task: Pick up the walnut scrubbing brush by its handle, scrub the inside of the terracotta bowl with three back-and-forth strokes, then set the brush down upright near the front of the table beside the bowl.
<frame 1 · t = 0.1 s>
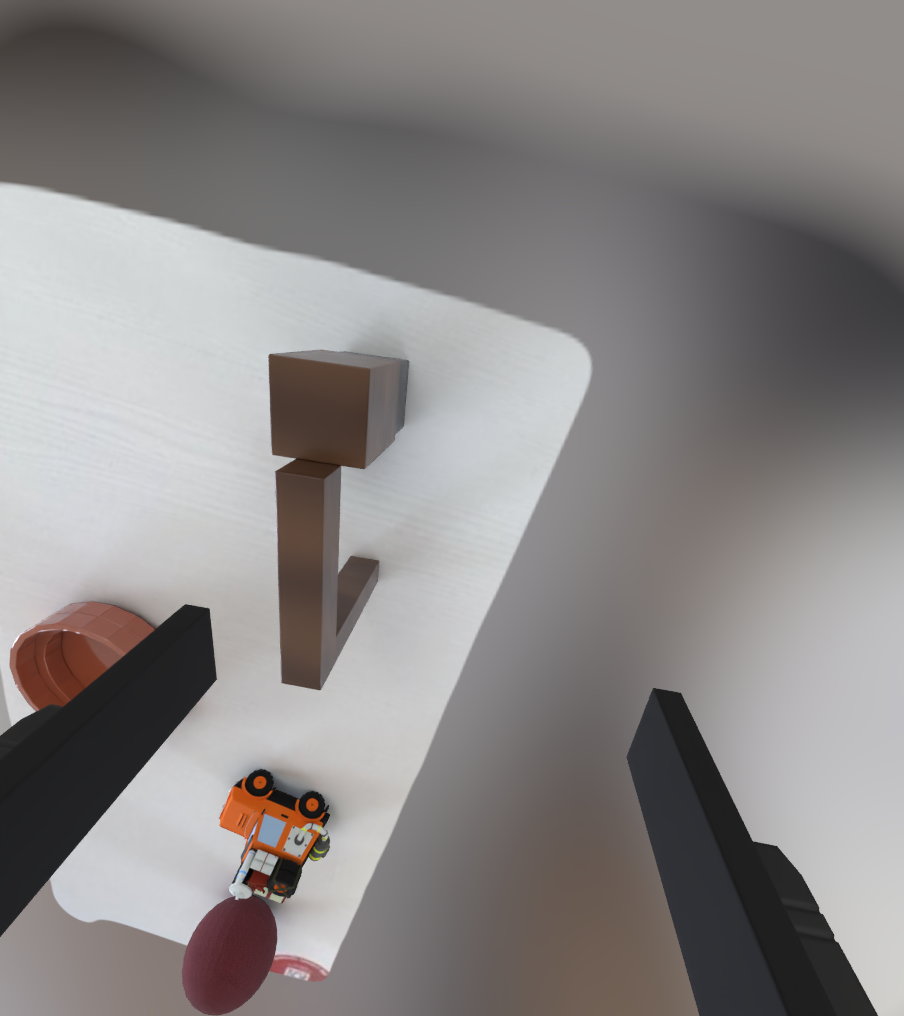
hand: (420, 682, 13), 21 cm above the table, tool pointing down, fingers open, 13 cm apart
brush: (374, 390, 31), on the table
bowl: (120, 659, 44), on the table
toy car: (289, 797, 49), on the table
decorative ball: (254, 898, 57), on the table
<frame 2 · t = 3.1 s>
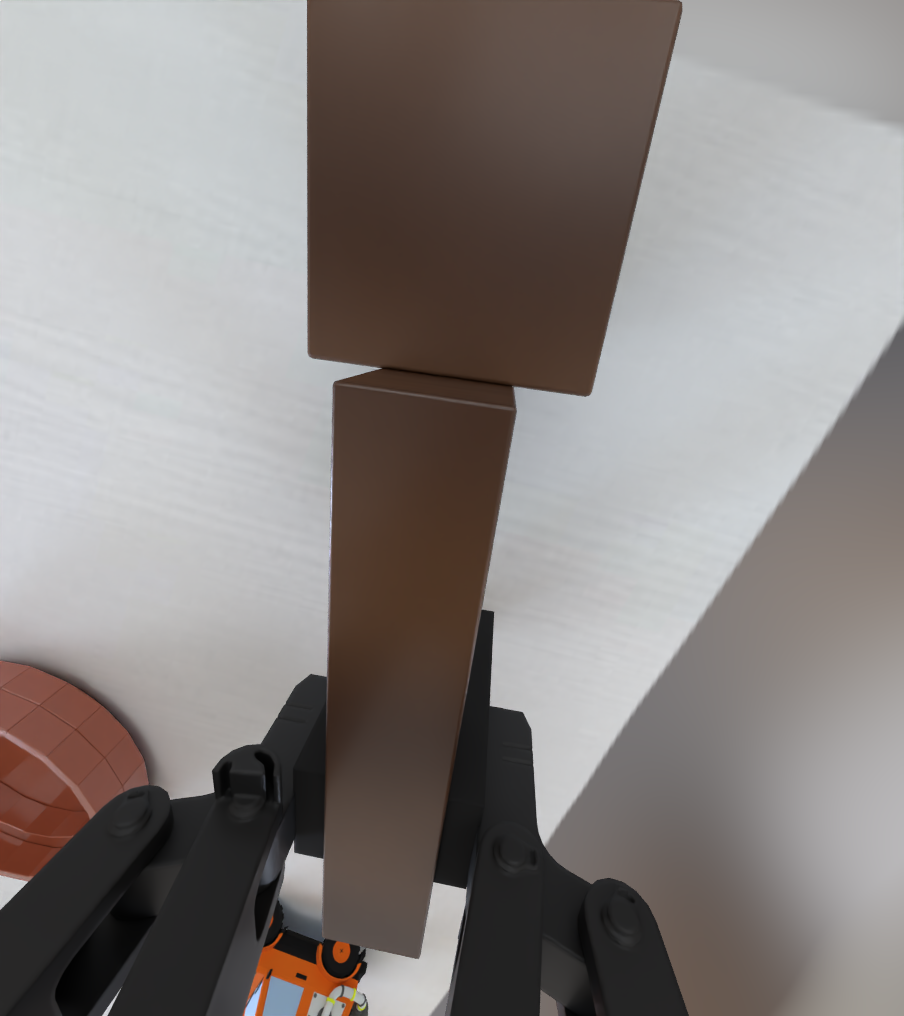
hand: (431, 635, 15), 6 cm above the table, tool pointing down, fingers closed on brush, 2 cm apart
brush: (489, 280, 16), on the table, touching gripper
bowl: (50, 742, 29), on the table
toy car: (306, 929, 33), on the table
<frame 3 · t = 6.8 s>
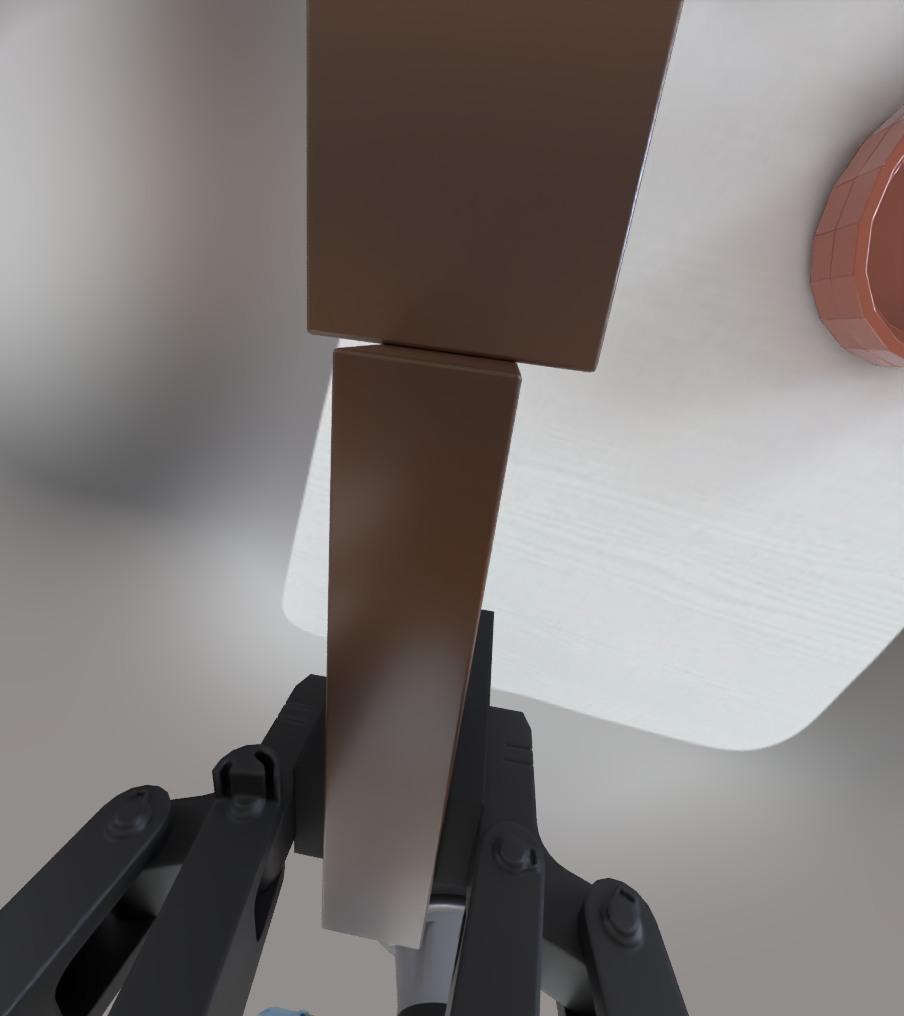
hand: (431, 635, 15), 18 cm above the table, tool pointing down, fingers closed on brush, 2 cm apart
brush: (490, 268, 16), point 13 cm above the table, touching gripper
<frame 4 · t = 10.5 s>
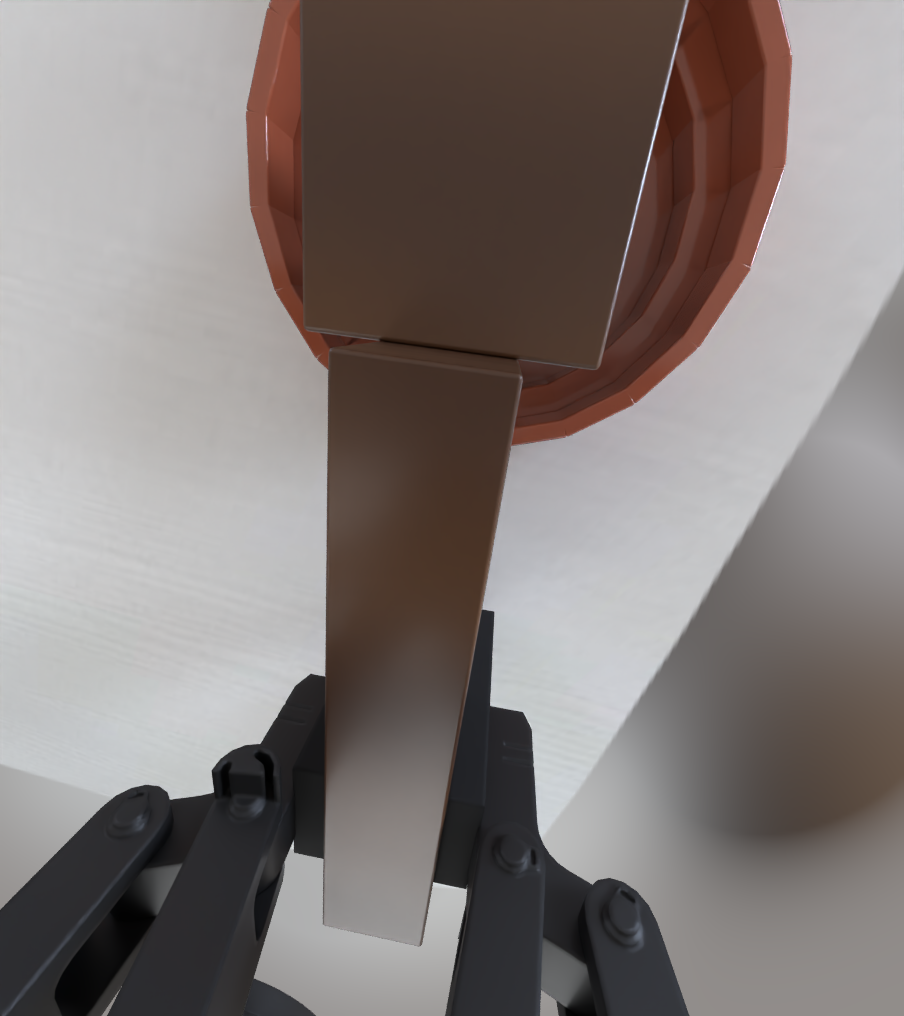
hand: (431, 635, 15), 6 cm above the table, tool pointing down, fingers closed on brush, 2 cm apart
brush: (492, 260, 15), point 1 cm above the table, touching gripper
bowl: (500, 222, 16), on the table
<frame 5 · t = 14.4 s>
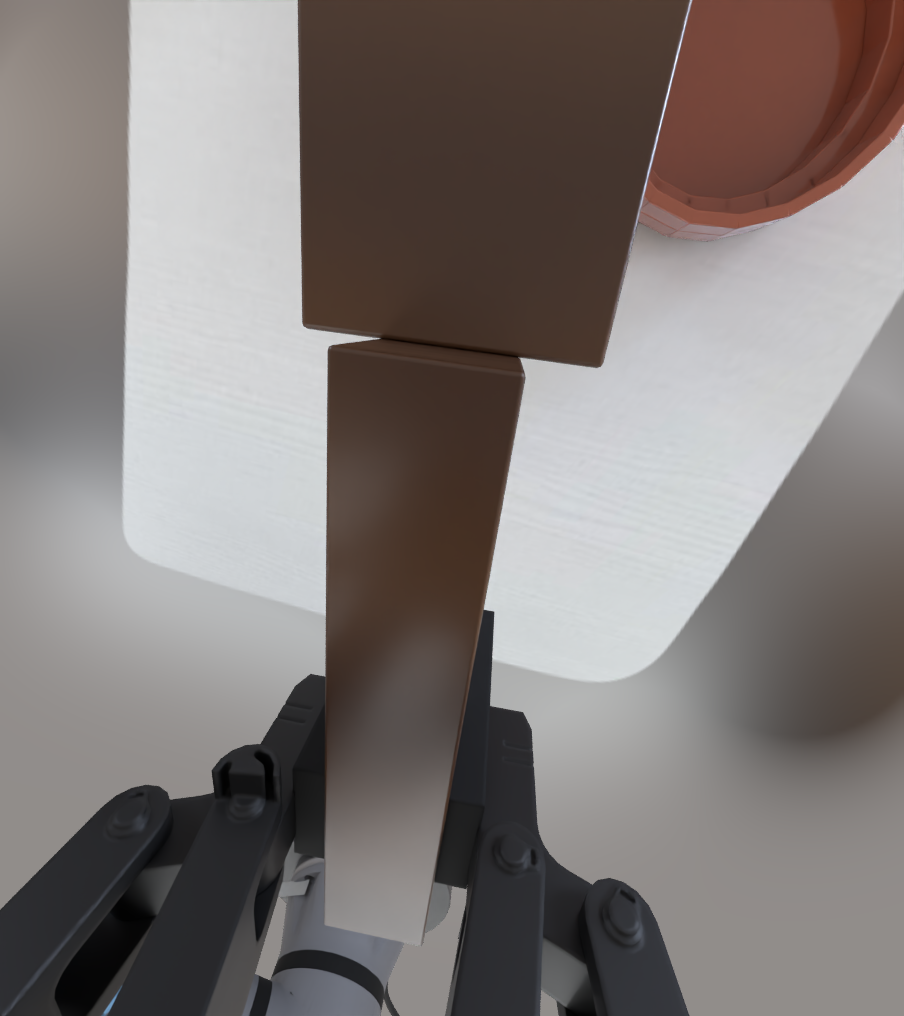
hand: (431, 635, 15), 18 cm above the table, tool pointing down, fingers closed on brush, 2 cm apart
brush: (492, 256, 15), point 13 cm above the table, touching gripper
bowl: (728, 78, 22), on the table
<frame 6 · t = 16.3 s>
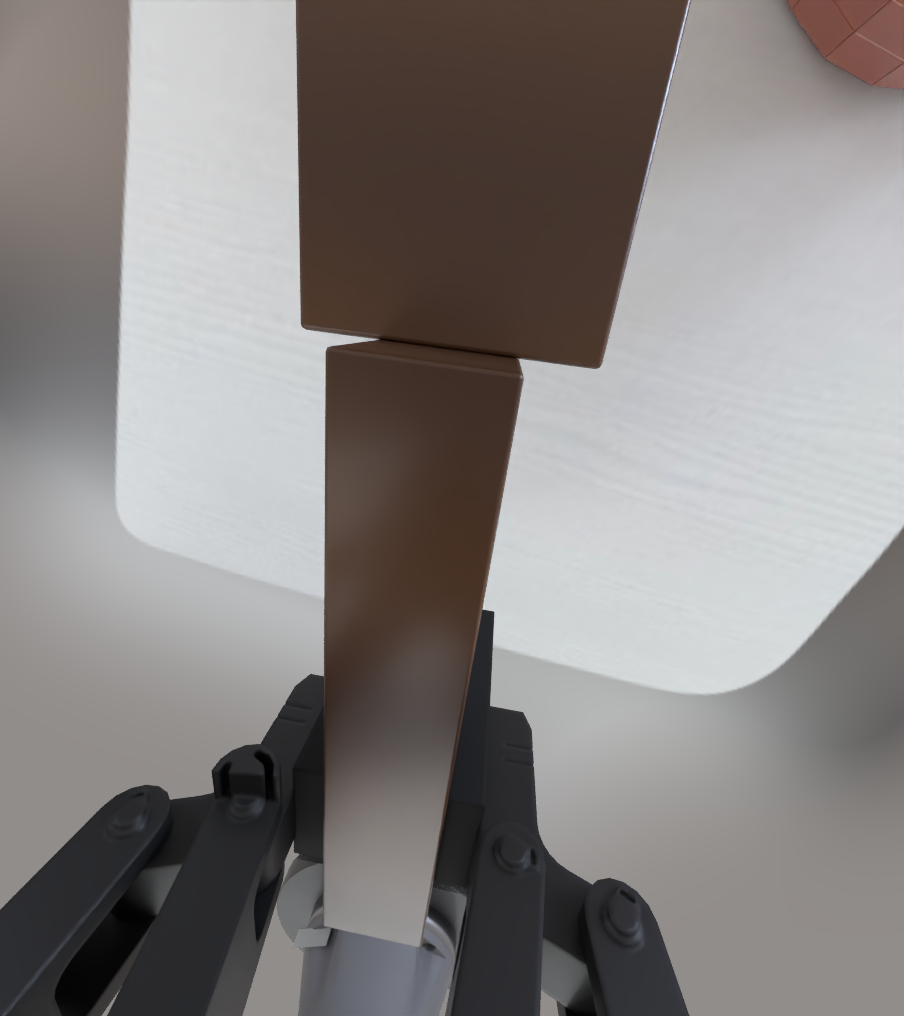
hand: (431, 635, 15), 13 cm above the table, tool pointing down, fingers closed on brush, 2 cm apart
brush: (492, 257, 15), point 8 cm above the table, touching gripper
when the fingers open (5 cm above the table, at t = 18.1 s): brush stays where it is, on the table.
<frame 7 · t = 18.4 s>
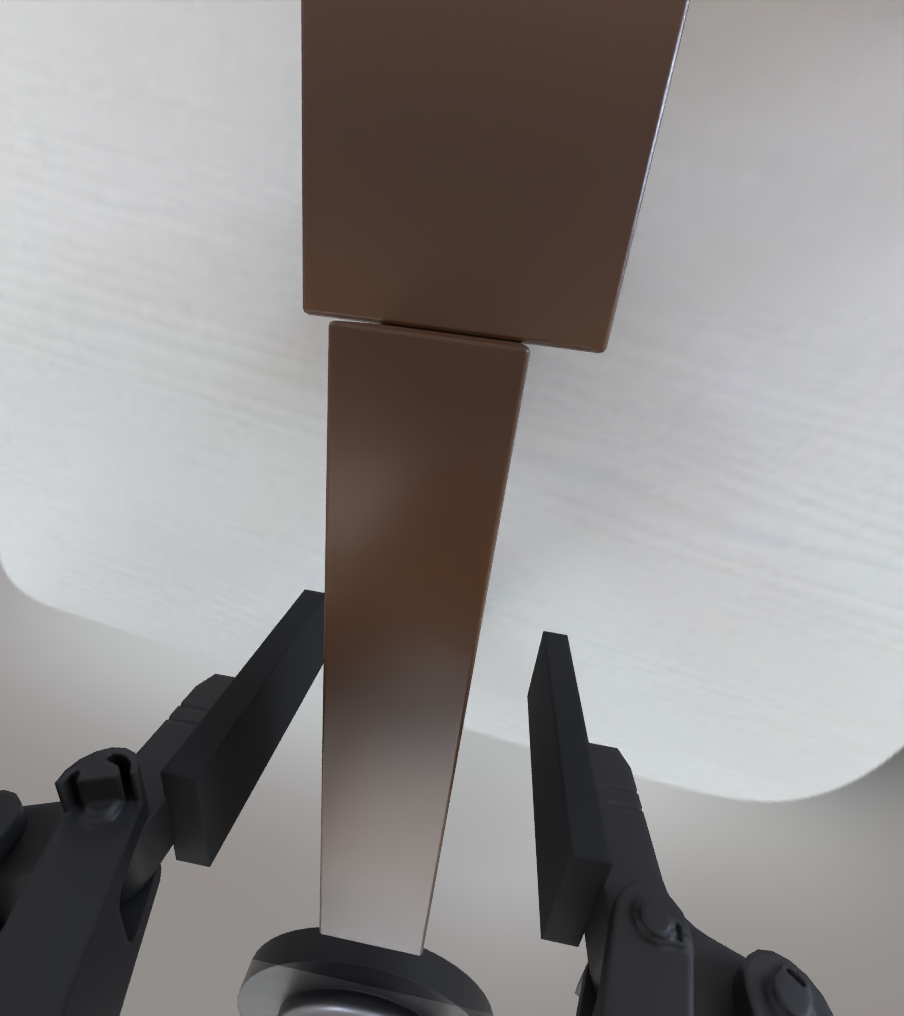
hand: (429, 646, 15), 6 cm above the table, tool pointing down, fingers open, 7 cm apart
brush: (492, 257, 15), on the table
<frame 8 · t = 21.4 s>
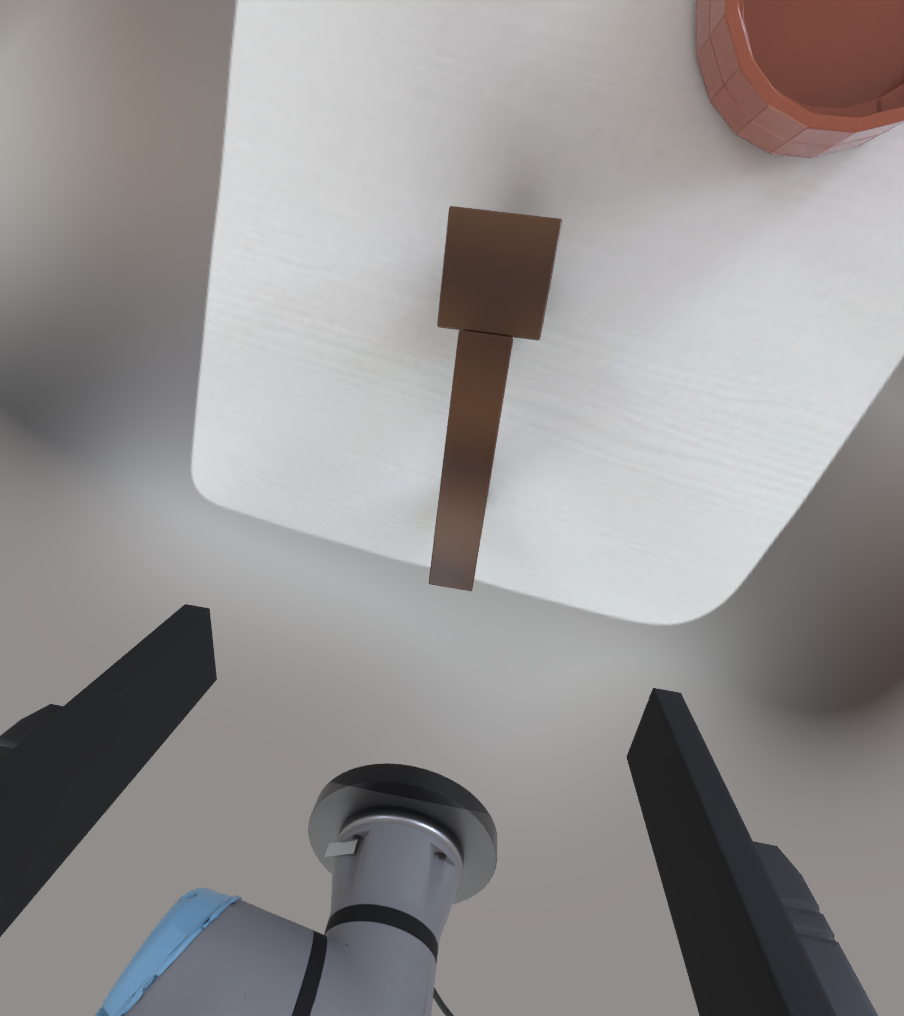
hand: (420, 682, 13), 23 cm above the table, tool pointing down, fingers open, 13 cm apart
brush: (499, 293, 29), on the table
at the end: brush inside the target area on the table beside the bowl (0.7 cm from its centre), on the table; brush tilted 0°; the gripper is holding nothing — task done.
